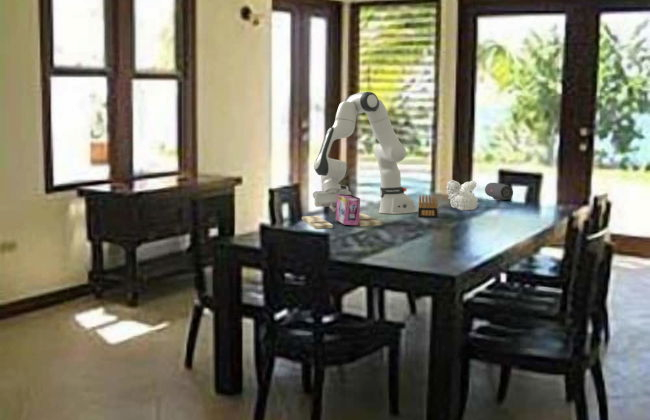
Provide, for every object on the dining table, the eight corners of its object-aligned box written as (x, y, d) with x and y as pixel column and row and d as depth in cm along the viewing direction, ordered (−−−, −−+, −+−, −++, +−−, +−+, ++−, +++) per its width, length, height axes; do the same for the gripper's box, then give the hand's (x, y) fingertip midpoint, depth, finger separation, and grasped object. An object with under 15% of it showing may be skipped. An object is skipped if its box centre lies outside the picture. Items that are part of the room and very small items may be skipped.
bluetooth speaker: (483, 198, 557) (483, 182, 556) (497, 197, 560) (497, 181, 558) (499, 201, 536) (499, 185, 534) (514, 201, 538) (513, 184, 537)
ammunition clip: (438, 217, 474) (438, 194, 473) (437, 217, 472) (437, 195, 471) (419, 217, 478) (418, 194, 477) (418, 217, 477) (417, 194, 475)
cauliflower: (468, 195, 492) (447, 174, 505) (454, 224, 502) (434, 203, 515) (493, 194, 502) (472, 174, 515) (479, 222, 512) (459, 202, 525)
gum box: (359, 226, 451) (361, 199, 450) (344, 225, 450) (346, 198, 448) (349, 220, 475) (351, 194, 473) (334, 219, 473) (336, 193, 472)
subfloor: (363, 215, 491) (363, 212, 491) (381, 224, 452) (381, 221, 452) (301, 219, 485) (301, 216, 485) (315, 228, 446) (315, 225, 446)
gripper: (313, 187, 475) (316, 208, 467) (351, 186, 479) (355, 206, 470) (311, 195, 480) (315, 215, 472) (349, 193, 483) (353, 214, 475)
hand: (335, 211), depth 471 cm, fingers closed
